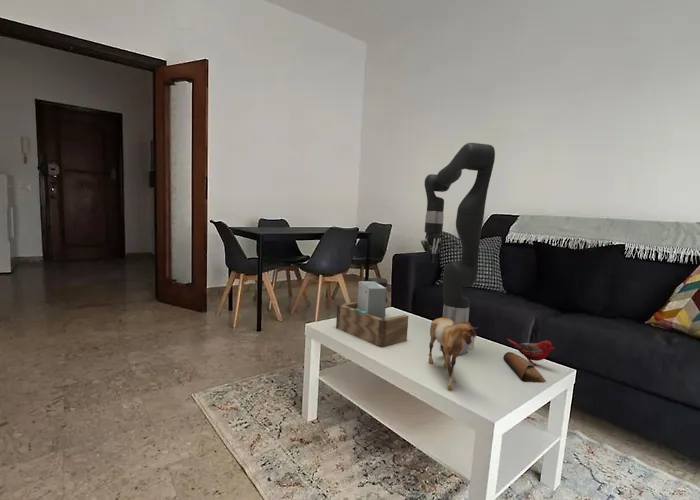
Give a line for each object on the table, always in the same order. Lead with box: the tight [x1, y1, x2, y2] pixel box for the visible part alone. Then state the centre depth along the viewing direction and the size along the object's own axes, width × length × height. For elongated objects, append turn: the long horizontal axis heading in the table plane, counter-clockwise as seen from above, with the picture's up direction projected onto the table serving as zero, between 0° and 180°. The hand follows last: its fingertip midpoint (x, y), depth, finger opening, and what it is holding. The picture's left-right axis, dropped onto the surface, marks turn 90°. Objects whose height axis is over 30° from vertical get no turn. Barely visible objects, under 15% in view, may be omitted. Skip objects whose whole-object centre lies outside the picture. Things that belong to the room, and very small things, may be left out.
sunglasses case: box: [503, 351, 547, 384], centre depth 135 cm, size 18×7×7 cm
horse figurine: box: [428, 317, 479, 391], centre depth 127 cm, size 31×8×21 cm, turn 2°
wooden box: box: [335, 300, 409, 348], centre depth 163 cm, size 27×14×11 cm, turn 40°
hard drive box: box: [356, 280, 388, 319], centre depth 166 cm, size 16×8×20 cm, turn 14°
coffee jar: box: [366, 277, 388, 289], centre depth 188 cm, size 10×8×19 cm
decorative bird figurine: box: [505, 337, 555, 367], centre depth 142 cm, size 3×18×10 cm, turn 38°
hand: (430, 262), depth 174 cm, fingers closed
